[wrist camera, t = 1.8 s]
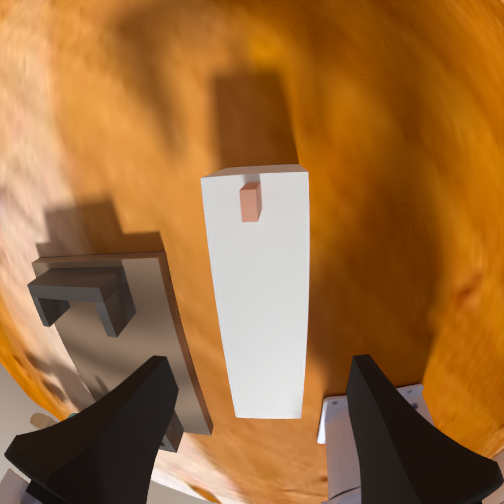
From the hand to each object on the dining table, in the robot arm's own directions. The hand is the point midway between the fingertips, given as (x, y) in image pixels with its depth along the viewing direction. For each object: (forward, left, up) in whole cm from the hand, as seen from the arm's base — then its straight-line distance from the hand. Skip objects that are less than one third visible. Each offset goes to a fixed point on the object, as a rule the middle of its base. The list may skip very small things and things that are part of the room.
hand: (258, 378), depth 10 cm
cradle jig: (+13, +7, -8) cm, 17 cm away
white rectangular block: (0, 0, -8) cm, 8 cm away
